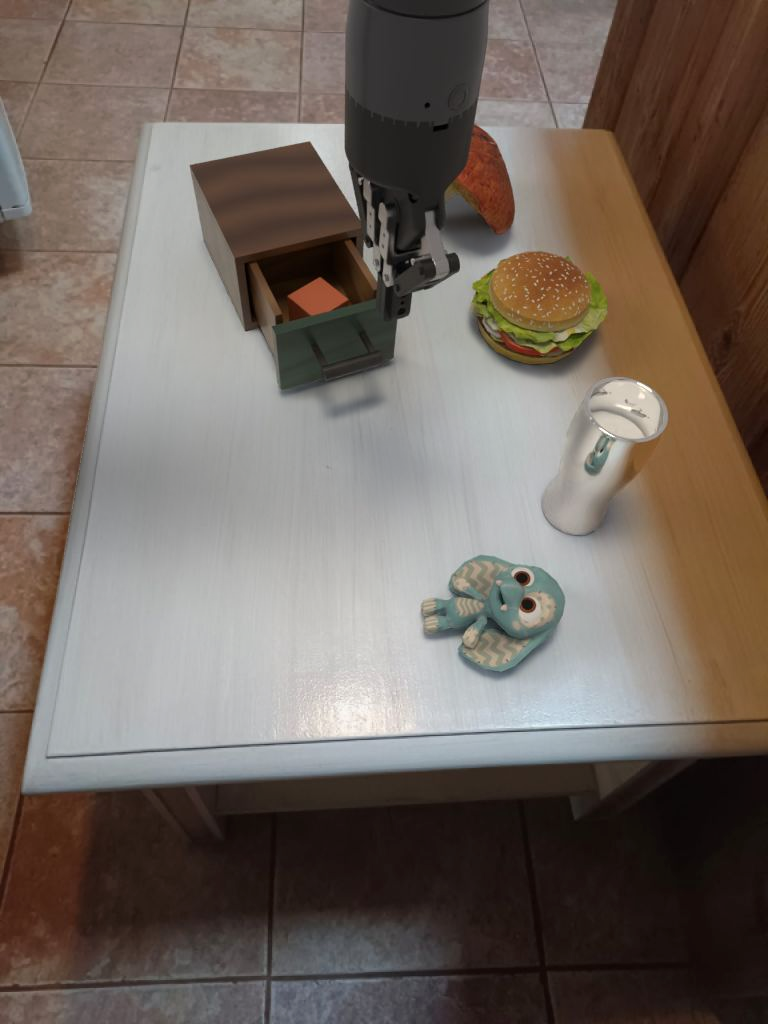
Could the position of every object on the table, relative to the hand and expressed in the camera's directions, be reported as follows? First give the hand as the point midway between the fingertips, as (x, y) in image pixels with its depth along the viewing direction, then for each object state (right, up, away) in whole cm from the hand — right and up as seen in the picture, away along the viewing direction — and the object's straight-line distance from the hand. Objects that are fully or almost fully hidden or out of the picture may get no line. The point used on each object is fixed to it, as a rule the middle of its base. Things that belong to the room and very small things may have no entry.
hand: (392, 313), depth 55 cm
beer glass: (+17, -15, +15) cm, 27 cm away
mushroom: (+7, +25, +31) cm, 41 cm away
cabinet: (-13, +13, +30) cm, 35 cm away
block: (-8, +4, +22) cm, 24 cm away
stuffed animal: (+8, -24, +8) cm, 27 cm away
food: (+16, +5, +27) cm, 32 cm away
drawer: (-7, +3, +23) cm, 24 cm away
